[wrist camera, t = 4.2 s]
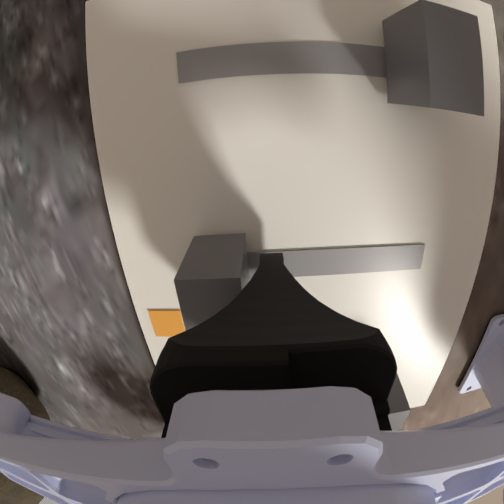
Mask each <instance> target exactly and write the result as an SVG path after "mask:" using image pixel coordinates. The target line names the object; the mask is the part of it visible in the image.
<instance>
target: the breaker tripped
mask: <svg viewBox="0 0 504 504" xmlns="http://www.w3.org/2000/svg"><path fill="white" fill-rule="evenodd" d="M249 281H250V278H249V266H248V254H247V242H246V233H240V234H221V235H204V236H194V237H193V239H192V241H191V243H190V245H189V248H188V250H187V252H186V254H185V256H184V258H183V261H182V263H181V265H180V267H179V269H178V272H177V274H176V276H175V278H174V284H175V288H176V293H177V297H178V301H179V306H180V310H181V314H182V318H183V322H184V326H185V330H189V329H191V328H193V327H195V326H197V325H199V324H200V323H202V322H204V321H206V320H207V319H209V318H210V317H212V316H214V315H215V314H216V313H218V312H219V311H220V310H222V309H223V308H224V307H226V306H227V305H228V304H229V303H230V302H231V301H232V300H233V299H234V298H235V297H236V296H237V295H238V294H239V293H240V292H241V291H242V290H243V288H244V287H245V286H246V285H247V283H248V282H249Z"/></svg>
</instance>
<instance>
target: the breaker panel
mask: <svg viewBox="0 0 504 504" xmlns="http://www.w3.org/2000/svg"><path fill="white" fill-rule="evenodd" d="M417 1H419V0H89V1H86V2H85V28H86V55H87V71H88V83H89V94H90V103H91V112H92V120H93V128H94V135H95V141H96V148H97V154H98V160H99V166H100V171H101V177H102V182H103V187H104V192H105V197H106V202H107V206H108V211H109V215H110V220H111V224H112V228H113V232H114V236H115V240H116V244H117V248H118V252H119V256H120V259H121V263H122V267H123V270H124V274H125V277H126V281H127V284H128V287H129V291H130V294H131V297H132V300H133V304H134V307H135V310H136V313H137V316H138V319H139V322H140V325H141V328H142V331H143V334H144V336H145V339H146V342H147V345H148V348H149V350H150V353H151V356H152V358H153V361H154V364H155V366H156V363H157V360H158V358H159V356H160V353H161V351H162V349H163V348H164V346H165V344H166V342H167V340H168V338H170V337H172V336H175V335H177V334H179V333H182V332H184V331H186V330H185V326H184V322H183V318H182V314H181V310H180V306H179V301H178V297H177V293H176V288H175V284H174V278H175V276H176V274H177V272H178V269H179V267H180V265H181V263H182V261H183V258H184V256H185V254H186V252H187V250H188V248H189V245H190V243H191V241H192V239H193V237H194V236H204V235H221V234H240V233H246V242H247V254H248V266H249V278H250V279H251V278H252V276H253V275H254V273H255V272H256V270H257V269H258V267H259V265H260V261H259V260H260V254H262V253H283V258H284V265H285V266H286V268H287V269H288V270H289V272H290V273H291V274H292V275H293V277H294V278H295V279H296V280H297V281H298V282H299V284H300V285H301V286H302V287H303V288H304V289H305V290H306V291H307V292H309V293H310V294H311V295H312V296H313V297H315V298H316V299H317V300H318V301H320V302H321V303H323V304H324V305H326V306H328V307H329V308H331V309H332V310H334V311H336V312H338V313H340V314H342V315H344V316H346V317H348V318H350V319H352V320H355V321H357V322H360V323H363V324H366V325H369V326H372V327H375V328H378V329H380V331H381V333H382V334H383V336H384V337H385V339H386V340H387V342H388V344H389V346H390V348H391V350H392V352H393V354H394V357H395V360H396V364H397V374H398V377H399V379H400V382H401V385H402V387H403V390H404V393H405V396H406V398H407V401H408V404H409V407H410V408H413V407H418V406H422V405H425V403H426V401H427V399H428V397H429V395H430V393H431V391H432V389H433V387H434V385H435V383H436V381H437V379H438V377H439V374H440V372H441V370H442V368H443V366H444V363H445V361H446V359H447V356H448V354H449V352H450V349H451V347H452V344H453V342H454V339H455V337H456V334H457V332H458V329H459V326H460V324H461V321H462V318H463V315H464V312H465V309H466V306H467V303H468V300H469V297H470V294H471V291H472V288H473V284H474V281H475V277H476V274H477V270H478V267H479V263H480V259H481V255H482V251H483V247H484V242H485V238H486V233H487V229H488V224H489V218H490V213H491V207H492V201H493V195H494V188H495V180H496V172H497V163H498V151H499V137H500V73H499V58H498V48H497V39H496V31H495V24H494V18H493V12H492V6H491V5H489V4H487V3H484V2H482V1H479V0H427V1H430V2H434V3H438V4H441V5H445V6H448V7H451V8H455V9H458V10H461V11H464V12H467V13H470V14H473V15H475V16H477V17H478V24H479V31H480V39H481V48H482V60H483V76H484V117H483V116H478V115H473V114H467V113H462V112H456V111H449V110H442V109H435V108H428V107H420V106H411V105H402V104H391V103H387V76H386V59H385V46H384V35H383V26H382V21H383V20H384V19H386V18H388V17H389V16H391V15H393V14H395V13H397V12H398V11H400V10H402V9H404V8H406V7H407V6H409V5H411V4H413V3H415V2H417Z"/></svg>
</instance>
